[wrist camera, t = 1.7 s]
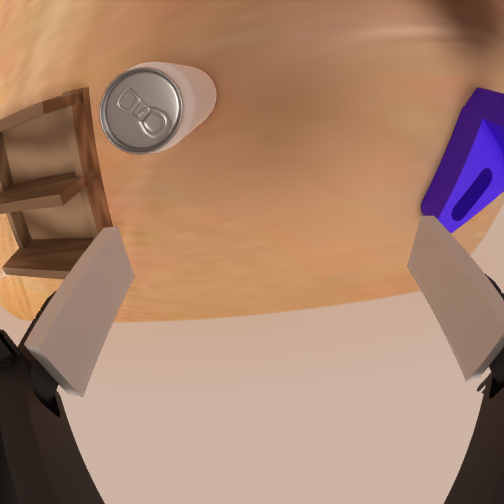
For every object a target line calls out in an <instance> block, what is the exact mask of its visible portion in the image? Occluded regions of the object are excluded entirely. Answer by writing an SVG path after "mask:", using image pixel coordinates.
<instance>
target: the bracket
mask: <svg viewBox="0 0 504 504" xmlns="http://www.w3.org/2000/svg"><path fill="white" fill-rule="evenodd" d="M503 191H504V94H502V93H498V92H495V91H491V90H487V89H483V88H478V87H477V88H476V90H475V91H474V93H473V94H472V96H471V97H470V99H469V100H468V102H467V103H466V105H465V106H464V107H463V109H462V110H461V112H460V115H459V118H458V121H457V123H456V126H455V129H454V131H453V134H452V136H451V139H450V141H449V144H448V146H447V149H446V151H445V153H444V156H443V158H442V160H441V163H440V165H439V167H438V169H437V172H436V174H435V176H434V178H433V180H432V182H431V184H430V186H429V189H428V191H427V193H426V195H425V197H424V199H423V201H422V204H421V211H422V214H423V215H424V216H435V217H436V218H437V219H438V221H439V222H440V223H441V224H442V225H443V226H444V227H445V228H446V229H447V230H448V231H449V232H450V233H452V232H454V231H455V230H456V229H458V228H459V227H460V226H462V225H463V224H464V223H466V222H467V221H468V220H469V219H471V218H472V217H473V216H474V215H476V214H477V213H478V212H479V211H481V210H482V209H483V208H484V207H486V206H487V205H488V204H489V203H490V202H492V201H493V200H494V199H495V198H496V197H498V196H499V195H500V194H501V193H502V192H503Z"/></svg>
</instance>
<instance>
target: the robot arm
mask: <svg viewBox="0 0 504 504" xmlns="http://www.w3.org/2000/svg"><path fill="white" fill-rule="evenodd" d="M407 267H408V269H409V270H410V272H411V274H412V275H413V277H414V279H415V280H416V282H417V284H418V285H419V287H420V289H421V291H422V292H423V294H424V296H425V298H426V299H427V301H428V303H429V305H430V307H431V309H432V310H433V312H434V314H435V316H436V318H437V320H438V322H439V324H440V326H441V328H442V329H443V332H444V334H445V336H446V338H447V340H448V341H449V344H450V346H451V348H452V350H453V353H454V355H455V357H456V359H457V361H458V364H459V366H460V368H461V371H462V373H463V375H464V378H465V380H466V381H470V380H472V379H475V378H478V377H480V376H481V375H482V374H483V373H484V372H485V370H486V369H487V368H488V367H490V370H491V373H490V374H489V376H488V377H487V378H486V379H485V380H484V381H483V382H482V383H481V384H480V386H479V387H478V389H477V391H480V390H481V389H482V388H483V387H484V386H485V385H486V387H485V389H484V390H483V392H482V393H483V394H484V396H483V400H482V404H481V408H480V412H479V416H478V419H477V422H476V426H475V429H474V433H473V435H472V438H471V441H470V444H469V447H468V450H467V453H466V455H465V458H464V461H463V463H462V465H461V468H460V471H459V473H458V475H457V477H456V480H455V482H454V484H453V486H452V488H451V490H450V492H449V495H448V496H447V498H446V500H445V502H444V504H504V294H503V293H501V290H500V289H499V287H498V286H497V284H496V283H495V282H494V281H493V280H492V279H491V278H489V277H488V276H487V275H486V274H484V273H483V271H482V270H481V269H480V268H479V266H478V265H477V264H476V262H475V261H474V260H473V259H472V258H471V256H470V255H469V254H468V253H467V252H466V250H465V249H464V248H463V247H462V246H461V245H460V243H459V242H458V241H457V240H456V239H455V238H454V237H453V236H452V234H451V233H450V232H449V231H448V230H447V229H446V228H445V227H444V226H443V225H442V224H441V223H440V222H439V221H438V219H437V218H436V217H435V216H420V221H419V225H418V229H417V233H416V237H415V241H414V244H413V248H412V251H411V255H410V258H409V262H408V265H407ZM134 277H135V276H134V273H133V270H132V268H131V265H130V262H129V259H128V256H127V253H126V250H125V247H124V244H123V241H122V238H121V235H120V232H119V229H118V227H108V228H103V229H102V231H101V232H100V233H99V234H98V235H97V237H96V238H95V239H94V240H93V242H92V243H91V244H90V246H89V247H88V248H87V249H86V251H85V252H84V253H83V255H82V256H81V257H80V259H79V260H78V261H77V263H76V264H75V265H74V267H73V268H72V270H71V271H70V272H69V274H68V275H67V277H66V278H65V279H64V281H63V282H62V284H61V285H60V287H59V288H58V290H57V291H55V292H54V293H53V294H52V295H51V296H50V297H49V298H47V300H46V301H45V303H44V304H43V306H42V307H41V311H39V312H38V313H37V315H36V319H34V320H33V322H32V323H31V325H30V327H29V328H28V330H27V332H26V334H25V335H24V337H23V339H22V340H21V342H20V344H19V346H18V347H17V346H16V345H15V344H14V342H13V341H12V340H11V339H10V337H9V336H8V335H7V333H6V332H5V331H4V330H0V504H105V503H104V502H103V500H102V498H101V496H100V494H99V492H98V490H97V489H96V486H95V484H94V482H93V480H92V478H91V476H90V474H89V472H88V470H87V468H86V465H85V463H84V461H83V458H82V456H81V454H80V452H79V449H78V447H77V444H76V441H75V439H74V436H73V433H72V431H71V428H70V425H69V422H68V419H67V416H66V413H65V410H64V407H63V403H62V400H61V397H60V395H59V393H58V392H57V391H56V389H57V386H58V385H60V386H61V387H62V388H63V389H64V390H65V391H66V392H67V393H69V394H73V395H77V396H80V397H83V396H84V393H85V390H86V387H87V385H88V382H89V379H90V376H91V374H92V371H93V369H94V366H95V363H96V361H97V359H98V356H99V354H100V351H101V349H102V347H103V344H104V342H105V339H106V337H107V335H108V332H109V330H110V328H111V325H112V323H113V321H114V319H115V317H116V314H117V312H118V310H119V308H120V306H121V304H122V302H123V299H124V297H125V295H126V293H127V291H128V289H129V287H130V285H131V283H132V281H133V279H134Z"/></svg>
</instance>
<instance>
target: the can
mask: <svg viewBox="0 0 504 504" xmlns="http://www.w3.org/2000/svg"><path fill="white" fill-rule="evenodd" d="M216 98H217V93H216V87H215V85H214V82H213V81H212V79H211V78H210V77H209V75H208V74H206V73H205V72H204V71H202V70H200V69H198V68H195V67H191V66H186V65H180V64H173V63H165V62H146V63H141V64H138V65H136V66H133V67H131V68H129V69H128V70H126V71H125V72H123V73H122V74H120V75H119V76H117V77H116V78H115V79H114V80H113V81H112V82H111V83H110V84H109V86H108V87H107V89H106V90H105V92H104V94H103V97H102V100H101V104H100V122H101V126H102V129H103V131H104V133H105V135H106V137H107V138H108V139H109V141H110V142H111V143H112V144H113V145H115V146H116V147H117V148H119V149H120V150H122V151H125V152H127V153H131V154H151V153H158V152H161V151H164V150H166V149H169V148H170V147H172V146H174V145H175V144H177V143H178V142H179V141H181V140H182V139H183V138H184V137H186V136H187V135H188V134H189V133H190V132H192V131H193V130H194V129H195V128H196V127H198V126H199V125H200V124H201V123H202V122H204V121H205V120H206V119H207V118H208V116H209V115H210V114H211V112H212V110H213V109H214V106H215V104H216Z"/></svg>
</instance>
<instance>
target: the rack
mask: <svg viewBox="0 0 504 504" xmlns="http://www.w3.org/2000/svg"><path fill="white" fill-rule="evenodd" d="M3 213H6V214H7V217H8V220H9V223H10V225H11V228H12V231H13V233H14V236H15V239H16V241H17V244H18V246H19V249H18V250H17V251H16V252H15V253H14V255H13V256H12V257H11V258H10V259H9V260H8V261H7V262H6V264H5V265H4V266H3V267H2V268H3V270H4V272H5V274H7V275H18V276H29V277H41V278H53V279H65V278H66V277H67V275H68V274H69V272H70V271H71V270H72V268H73V267H74V265H75V264H76V263H77V261H78V260H79V259H80V257H81V256H82V255H83V253H84V252H85V251H86V249H87V248H88V247H89V246H90V244H91V243H92V242H93V240H94V239H95V238H96V237H97V235H98V234H99V233H100V232H101V231H102V229H103V228H108V227H113V225H112V222H111V218H110V214H109V210H108V206H107V201H106V197H105V192H104V188H103V183H102V178H101V173H100V168H99V163H98V157H97V152H96V145H95V139H94V132H93V125H92V117H91V109H90V99H89V88H82V89H77V90H72V91H68V92H65V93H63V95H61V96H58V97H55V98H52V99H49V100H47V101H43V102H40V103H38V104H35V105H33V106H30V107H28V108H26V109H23V110H21V111H19V112H16V113H14V114H12V115H10V116H8V117H6V118H4V119H2V120H0V214H3Z"/></svg>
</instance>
